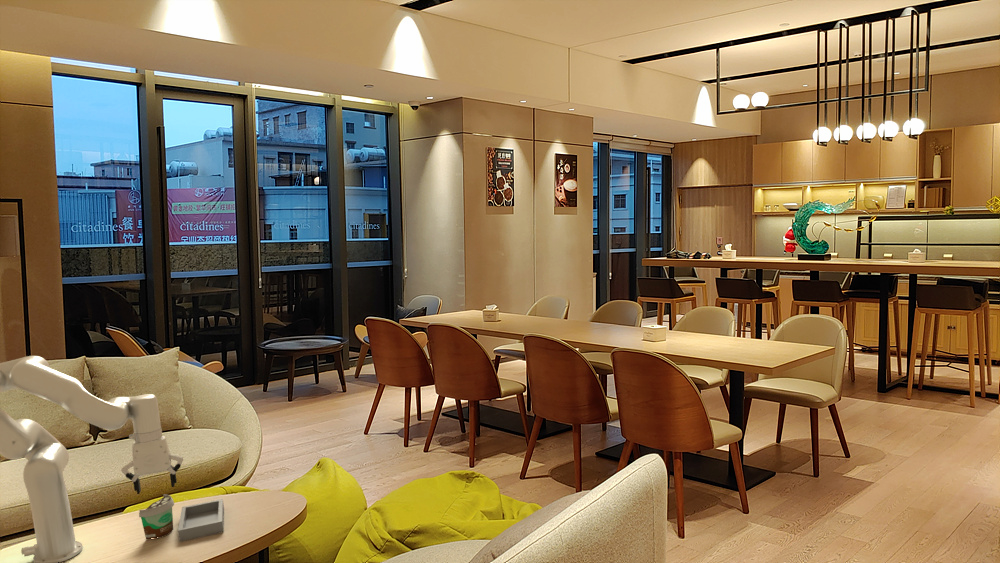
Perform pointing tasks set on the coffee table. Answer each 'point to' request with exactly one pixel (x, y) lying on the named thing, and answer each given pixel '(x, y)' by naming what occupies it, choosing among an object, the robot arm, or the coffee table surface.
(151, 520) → the food container
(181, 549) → the coffee table surface
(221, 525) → the tray
